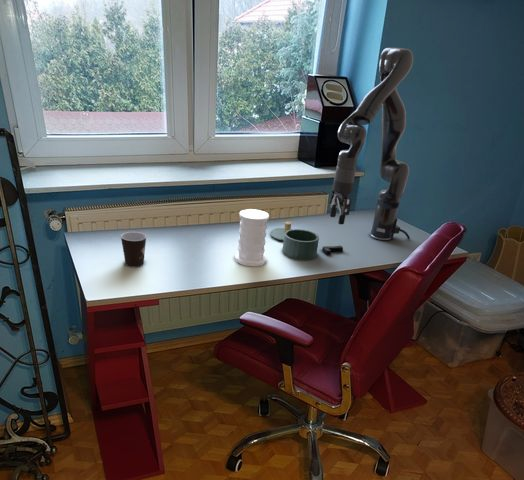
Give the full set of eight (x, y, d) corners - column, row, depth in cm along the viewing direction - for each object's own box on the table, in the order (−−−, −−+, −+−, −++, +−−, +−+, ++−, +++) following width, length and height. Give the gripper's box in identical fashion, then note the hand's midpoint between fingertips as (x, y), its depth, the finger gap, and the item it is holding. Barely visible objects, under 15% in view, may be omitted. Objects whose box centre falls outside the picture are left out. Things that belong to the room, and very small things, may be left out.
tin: (308, 246, 220) (311, 228, 216) (321, 259, 209) (324, 241, 205) (277, 247, 216) (280, 229, 212) (289, 260, 205) (291, 242, 201)
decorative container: (230, 255, 204) (233, 209, 195) (258, 253, 209) (262, 208, 199) (241, 267, 196) (245, 220, 186) (270, 264, 200) (275, 218, 190)
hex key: (340, 250, 220) (341, 245, 219) (345, 254, 216) (346, 250, 215) (321, 250, 217) (322, 246, 216) (326, 255, 214) (327, 250, 213)
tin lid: (296, 230, 235) (298, 216, 232) (308, 242, 224) (310, 228, 220) (265, 230, 231) (266, 217, 227) (275, 243, 219) (277, 229, 216)
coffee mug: (135, 270, 185) (134, 242, 180) (117, 262, 189) (115, 236, 183) (157, 260, 194) (157, 234, 188) (139, 253, 197) (139, 228, 192)
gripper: (360, 185, 198) (352, 226, 207) (345, 174, 210) (338, 214, 218) (342, 184, 196) (335, 226, 205) (327, 174, 208) (321, 214, 216)
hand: (336, 220), depth 212 cm, fingers open, 8 cm apart
